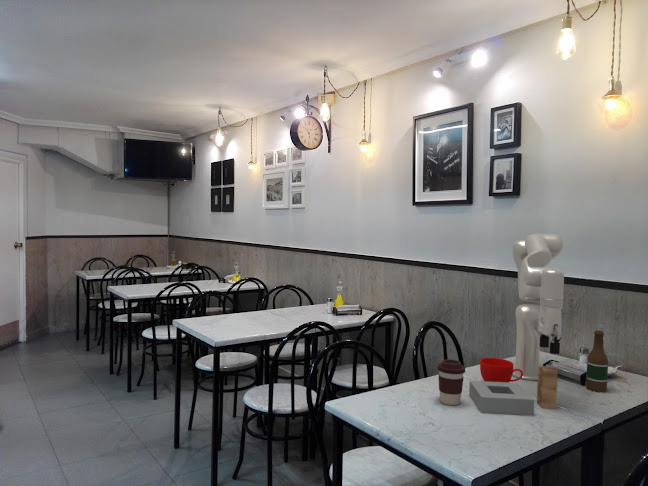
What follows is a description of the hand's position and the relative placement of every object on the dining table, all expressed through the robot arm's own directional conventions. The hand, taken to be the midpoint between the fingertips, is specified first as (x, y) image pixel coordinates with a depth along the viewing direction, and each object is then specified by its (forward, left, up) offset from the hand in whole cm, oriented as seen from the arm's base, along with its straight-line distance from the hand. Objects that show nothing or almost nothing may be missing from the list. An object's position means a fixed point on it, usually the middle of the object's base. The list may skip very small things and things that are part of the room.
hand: (549, 350), depth 180 cm
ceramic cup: (-19, -11, -21) cm, 31 cm away
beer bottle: (-22, +28, -21) cm, 42 cm away
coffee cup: (+1, -35, -21) cm, 41 cm away
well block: (+1, -17, -21) cm, 27 cm away
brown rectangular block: (0, 0, -21) cm, 21 cm away
